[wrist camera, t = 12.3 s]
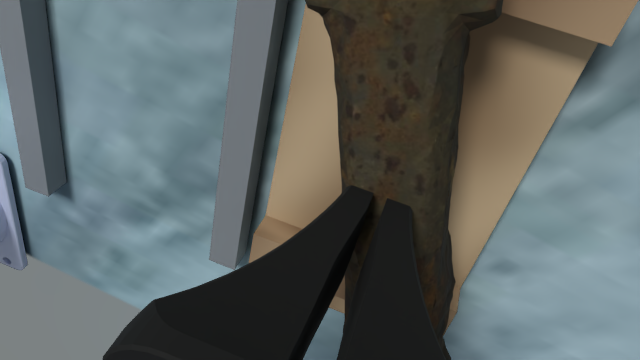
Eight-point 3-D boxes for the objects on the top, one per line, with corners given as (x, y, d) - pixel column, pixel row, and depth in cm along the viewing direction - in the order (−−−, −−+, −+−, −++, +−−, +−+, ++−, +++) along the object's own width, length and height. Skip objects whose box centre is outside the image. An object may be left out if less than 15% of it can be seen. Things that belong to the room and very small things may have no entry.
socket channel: (44, 173, 25) (25, 187, 24) (-31, -327, 14) (-70, -337, 13) (245, 251, 24) (234, 269, 23) (327, -233, 13) (312, -237, 12)
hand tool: (350, 333, 21) (471, 349, 20) (327, 418, 18) (470, 443, 17) (321, -274, 12) (534, -307, 11) (262, -335, 9) (561, -392, 8)
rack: (260, 265, 24) (242, 297, 22) (358, -225, 13) (335, -231, 11) (430, 331, 23) (423, 369, 21) (689, -139, 12) (714, -131, 10)
